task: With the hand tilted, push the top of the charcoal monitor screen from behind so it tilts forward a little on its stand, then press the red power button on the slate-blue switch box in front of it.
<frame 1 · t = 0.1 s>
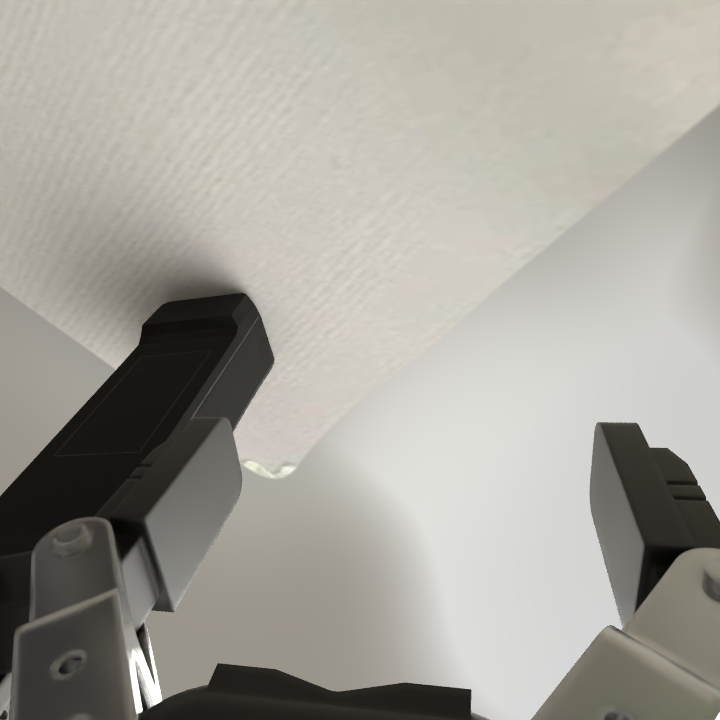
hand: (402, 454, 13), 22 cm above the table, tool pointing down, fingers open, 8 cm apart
portable radio: (215, 335, 40), on the table
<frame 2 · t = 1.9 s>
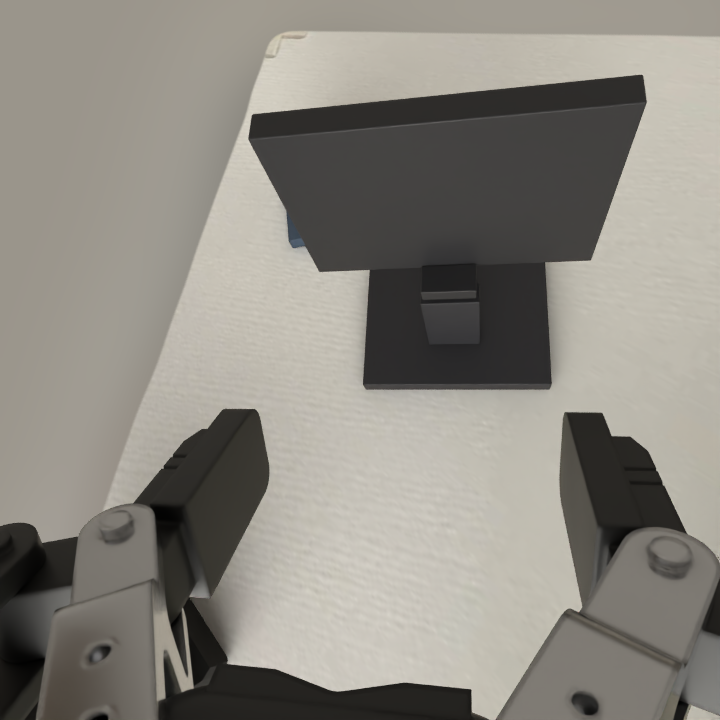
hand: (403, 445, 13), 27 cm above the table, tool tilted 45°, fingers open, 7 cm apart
portable radio: (168, 646, 39), on the table
monitor stand: (455, 319, 43), on the table
monitor screen: (443, 215, 29), point 15 cm above the table, hinge at 0.0°
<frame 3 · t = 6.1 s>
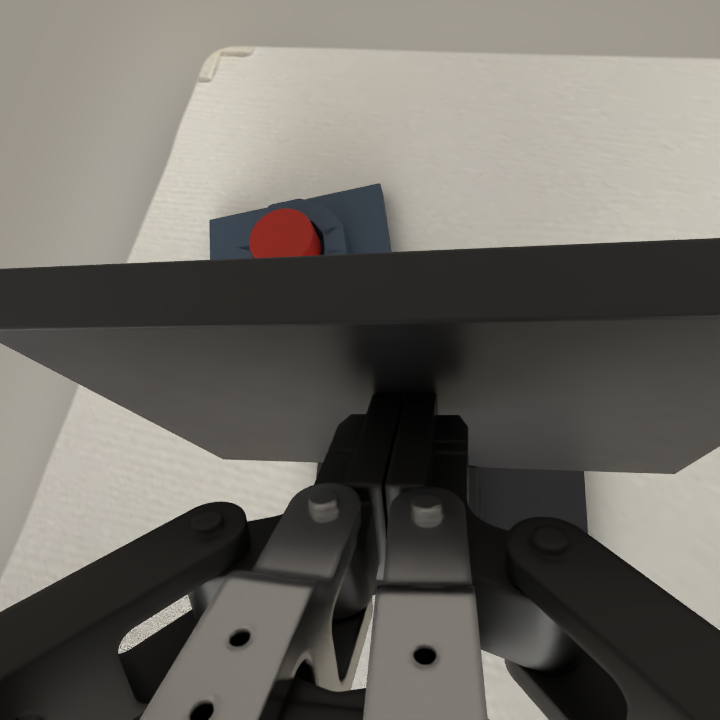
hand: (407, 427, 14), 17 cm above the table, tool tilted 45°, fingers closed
monitor stand: (445, 482, 29), on the table
switch box: (303, 274, 35), on the table
monitor screen: (414, 429, 15), point 15 cm above the table, hinge at 2.2°, touching gripper
power button: (285, 244, 32), point 3 cm above the table, slide at 0.1 cm
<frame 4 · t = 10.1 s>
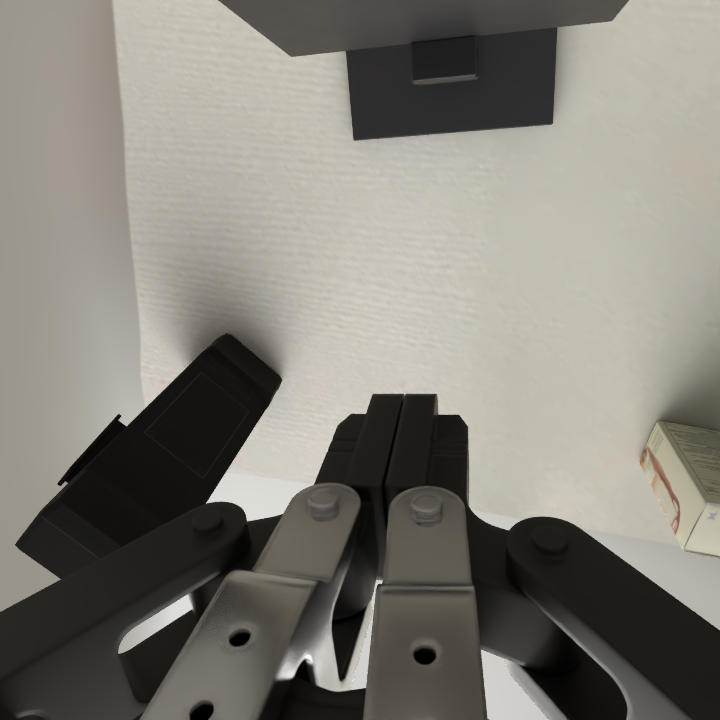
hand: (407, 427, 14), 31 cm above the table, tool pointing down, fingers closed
portable radio: (232, 372, 50), on the table
monitor stand: (448, 39, 37), on the table
monitor screen: (437, 9, 24), point 15 cm above the table, hinge at 8.9°
white cardboard box: (678, 446, 46), on the table
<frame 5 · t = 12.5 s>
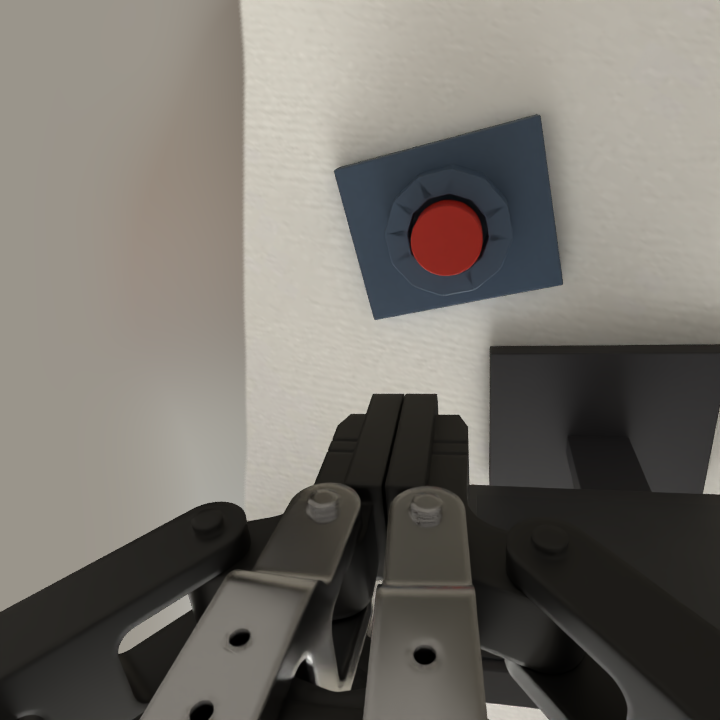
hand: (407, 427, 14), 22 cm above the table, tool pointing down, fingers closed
portable radio: (339, 643, 50), on the table
monitor stand: (595, 410, 36), on the table
switch box: (450, 223, 33), on the table
monitor screen: (662, 594, 23), point 15 cm above the table, hinge at 8.9°
power button: (447, 237, 30), point 3 cm above the table, slide at 0.1 cm
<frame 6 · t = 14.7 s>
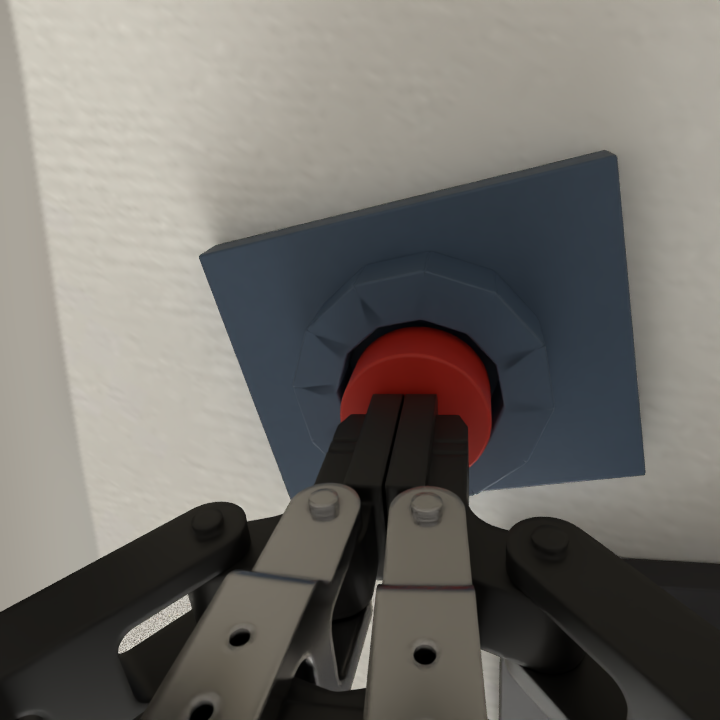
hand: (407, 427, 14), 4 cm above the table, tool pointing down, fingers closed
monitor stand: (686, 657, 21), on the table
switch box: (427, 349, 17), on the table
power button: (417, 405, 14), point 3 cm above the table, slide at 0.0 cm, touching gripper
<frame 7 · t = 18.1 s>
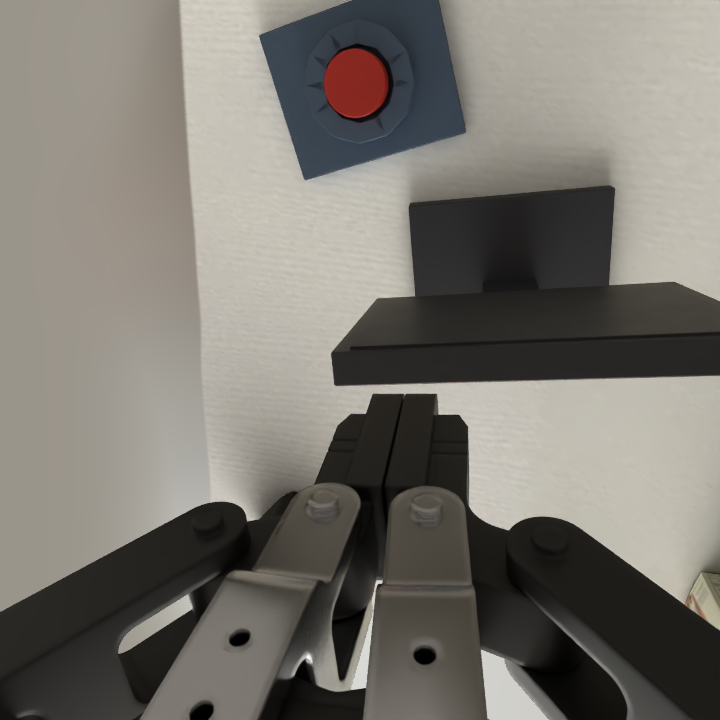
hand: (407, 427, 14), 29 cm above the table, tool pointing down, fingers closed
portable radio: (297, 522, 54), on the table
monitor stand: (507, 260, 40), on the table
switch box: (365, 84, 37), on the table
monitor screen: (529, 342, 27), point 15 cm above the table, hinge at 8.9°
power button: (356, 84, 34), point 3 cm above the table, slide at 0.1 cm
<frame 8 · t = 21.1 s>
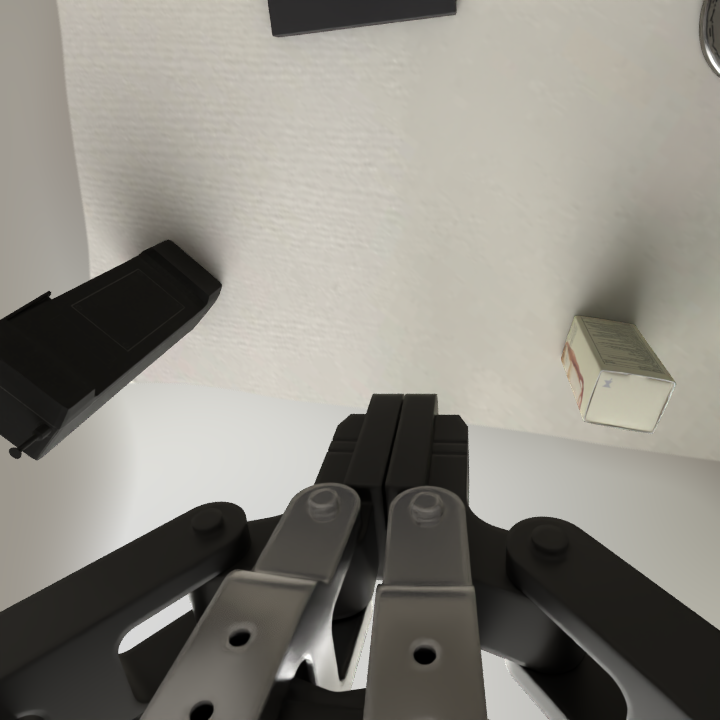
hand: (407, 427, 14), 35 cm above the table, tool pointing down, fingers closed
portable radio: (176, 280, 53), on the table
white cardboard box: (597, 342, 48), on the table
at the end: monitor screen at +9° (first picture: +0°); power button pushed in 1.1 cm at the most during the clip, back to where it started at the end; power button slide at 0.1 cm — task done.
